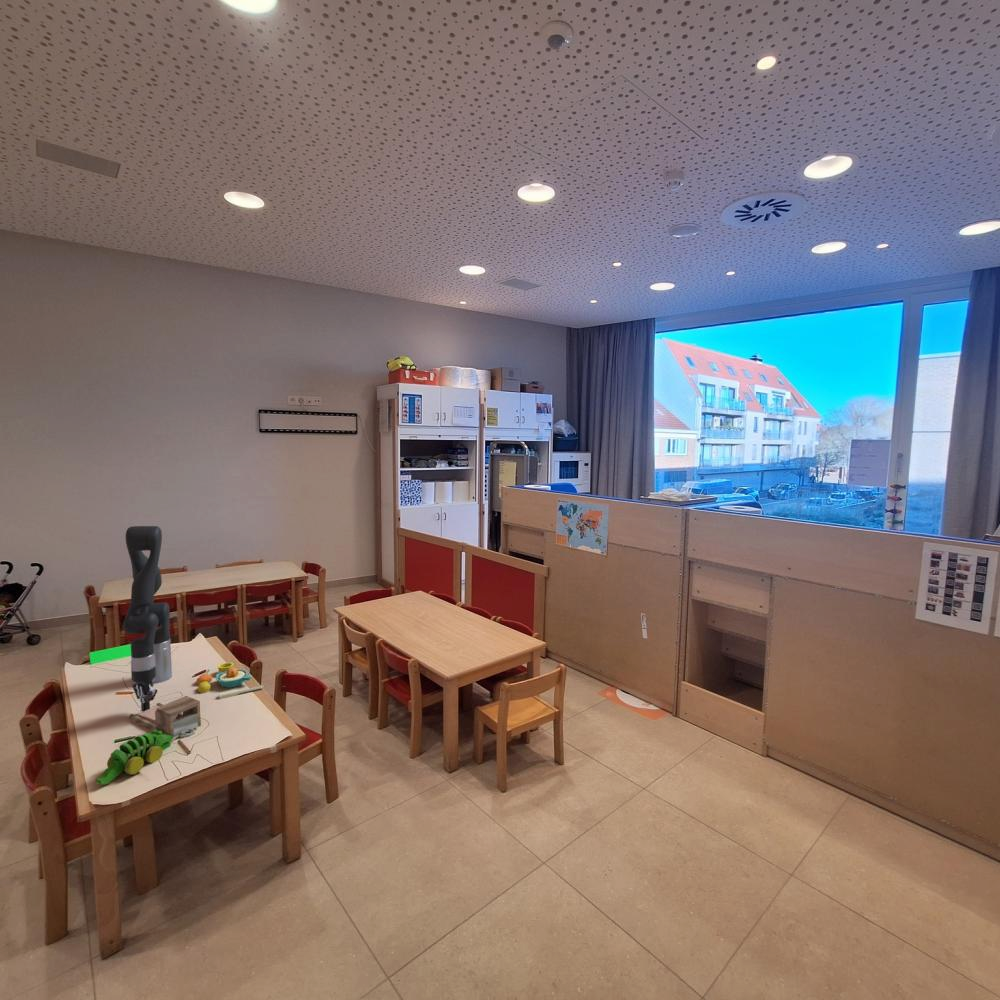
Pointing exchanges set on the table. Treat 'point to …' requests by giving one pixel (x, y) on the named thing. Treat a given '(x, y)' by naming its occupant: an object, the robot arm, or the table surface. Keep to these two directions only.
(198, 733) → the table surface
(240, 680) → the toy juicer set
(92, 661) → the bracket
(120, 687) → the table surface
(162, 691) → the table surface
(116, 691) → the table surface
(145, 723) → the wooden crate
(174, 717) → the pink flat slab
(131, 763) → the toy alligator
